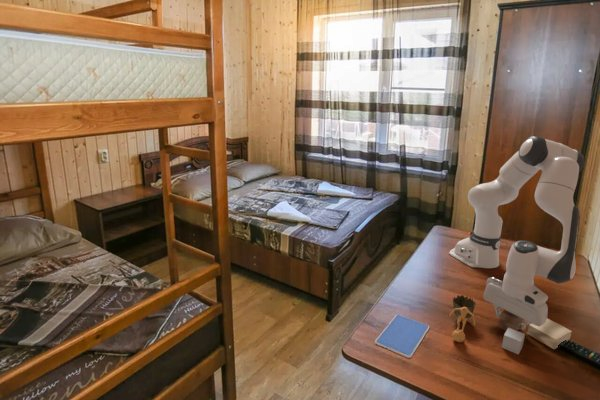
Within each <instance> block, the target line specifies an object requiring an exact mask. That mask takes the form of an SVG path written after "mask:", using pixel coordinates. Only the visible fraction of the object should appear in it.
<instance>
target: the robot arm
mask: <svg viewBox="0 0 600 400" xmlns="http://www.w3.org/2000/svg"><path fill="white" fill-rule="evenodd" d="M584 166H585V156H584V155H583V153H581V152H580V151H579V150H577V149H575V148H574V149H573V148H572V147H569V146H568V145H566V144H563V143H561V142H556V141H554V140H550V139H547V138H545V137H542V136H536V135H535V136H534V135H531V136H529V137H527V138H526V139H525V140H523V142H522V143H521V145H520V146H519V149H518V151H516V152H515V153H514V154H513V155H512V156H511V157H510V158H509V159H508V160H507V161H506V162H505V163H504V164H503V165H502V166H501V167H500V169H499V172H498V173H499V175H498V177H497V178H495V179H494V180H492V181H489V182H484V183H479V184H478V185H475V186H473V187H472V188H471V189H469V190H468V193H467V200H468V203H469V204H470V206H471V207H473V209H474V212H475V221H474V223H475V224H474V228H473V230H471V231H470V232H468V233H467V235H468V236H467V237H466V238H464V239H461V240H459V241H458V242H457V243H456V244H455V246H454V248H452V249H450V251H449V253H448V255H449V254H450V255H449V256H451V257H453V258H454V259H456V260H458V261H460V262H462V263H463V264H465V265H467V266H469V267H470V268H479V269H480V268H482V269H496V268H498V267H499V266H500V261H499V260H500V258H499V250H500V245H501V238H502V236H501V234H502V227H503V223H504V221H503V218H502V217H501V216H500V215H499V211H498V210H499V206H503V205H507V204H510V203H511V202H514V201H515V200H516V199H517V197H518V196H519V193H520V190H521V188H522V187H523V186H524V185H525V184H526V183H527V182H528V181H529V180H530V179H532V178H533V177H534V176H535V175H536V174H537V173H538V172H539V171H541V175H540V177H539V180H538V182H537V183H536V187H535V191H534V201H535V203H536V205H537V206H538V207H539V208H540V209H541V210H543V212H544V213H547V214H548V215H550V216H552V217H553V218H555V219H556V220H558V221H559V222H560V223H561V225H562V227H563V228H562V229H563V231H562V238H561V246H560V250H558V251H557V250H553V249H549V248H546V247H542V246H540V245H537V244H536V243H534V242H532V241H530V240H517V241H514V242H513V243H512V244H511V247H510V249H509V251H508V255H507V259H506V263H505V269H506V270H505V271H506V272H505V273H504V276H503V279H502V280H500V279H498V278H496V277H494V276H492V277H488V278H487V279H486V286H485V289H484V292H483V298H484V301H487V302H489V303H490V304H493V308H494V311H495V317H496V318H497V317H498V318H499V319H500V315H501V312H502V311H501V309H502V310H503V311H504V310H506V311H508V312H510V313H512V314H514V315H516V316H518V317H520V318H522V320H523V321H522V322H521V324H520V325H519V326H520V327H519V328H520V329H519V330H522V331H526V328H527V326H528V325H529V324H531V323H532V324H534V325H536V326H541V325H543V324H544V323H545V322H546V320H547V318H548V313H549V311H548V310H549V307H548V304H547V303H546V302H547V301H548V299H549V296H548V294H546V293H545V292H543V291H542V290H541V289H540V288H538V287H537V286H536V285H535V284H534V282H535V280H534V279H535V278H534V277H535V276H538V277H541V278H543V279H544V278H545V279H547V280H548V281H551V282H554V283H556V284H558V285H559V284H564V283H567V282H569V281H571V280H573V277H574V276H575V273H576V267H577V266H576V265H577V264H576V257H577V256H576V255H577V247H578V239H579V232H580V231H579V230H580V220H581V219H580V218H581V217H580V216H581V215H580V214H581V212H580V209H579V206H578V207H577V205H575V202H574V193H575V190H576V187H577V184H578V180H579V173H580V172H581V171H582V169H583V168H584Z"/></svg>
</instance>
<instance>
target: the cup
mask: <svg viewBox="0 0 600 400" xmlns="http://www.w3.org/2000/svg"><path fill="white" fill-rule="evenodd" d="M476 304H477V303H476V301H475V300H474V299H472V298H471V297H469V298H468V296H466V297H465V296H464V295H457V297H455V296H454V297H453V299H452V311H453V310H454V309H455V308H463V307H467V308H468V310H469V311H470V312H471V313H472V314H473V315H474V311H475V307H476ZM453 314H454V315H455V318H456V321H457V320H458V316H461V312H460V310H455V311H454V312H453ZM471 317H473V316H472V315H470V314H469V313H467V315H466V317H465V318H467V320H468V319H470V318H471ZM462 321H463V320H462V319H461V322H460V323H463V322H462Z"/></svg>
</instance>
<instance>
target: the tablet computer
mask: <svg viewBox="0 0 600 400" xmlns="http://www.w3.org/2000/svg"><path fill="white" fill-rule="evenodd" d="M429 330H430V325H429V324H426V323H423V322H421V321H417V320H414V319H412V318H409V317H407V316H404V315H401V314H395V316H394V317H393V318H392V320H390V322H389V323H388V325H387V326H386V327H385V328H384V329H383V331H382V332H381V333H380V334H379V336H378V337H376V339H375V341H374V344H375V345H376V344H377V346H379V347H381V346H382V347H381V348H383V347H384V349H386V348H387V349H386V350H388V351H390V350H391V352H393V353H396V354H397V355H399V356H402V357H404V358H407V359H411V358H412V357H413V356H414V353H416V351H417V349H418V347H419V346H420V344H421V342H422V341H423V339H425V338H424V337H425V336H426V335H427V333H428V332H429Z"/></svg>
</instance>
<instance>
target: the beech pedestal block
mask: <svg viewBox="0 0 600 400" xmlns="http://www.w3.org/2000/svg"><path fill="white" fill-rule="evenodd" d="M527 326H528V327H527V331H526V335H529V336H530V337H532V338H534V339H535V340H537V341H538V342H541V343H542V344H545V345H546V346H547V347H549V348H551V349H553V350H556V349H558V348H559V347H558V345H559V344H560V343H561V342H563V341H565V340H569V341H570V340H571V336H572V332H573V331H572V330H571V329H569V328H566V327H565V326H563V325H561V324H559V323H557V322H555V321H553V320H552V319H550V318H548V317H547V320H546V322H545V323H544V324H543V325H541V326H536V325H534V324H532V323H529V324H528V325H527Z"/></svg>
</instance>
